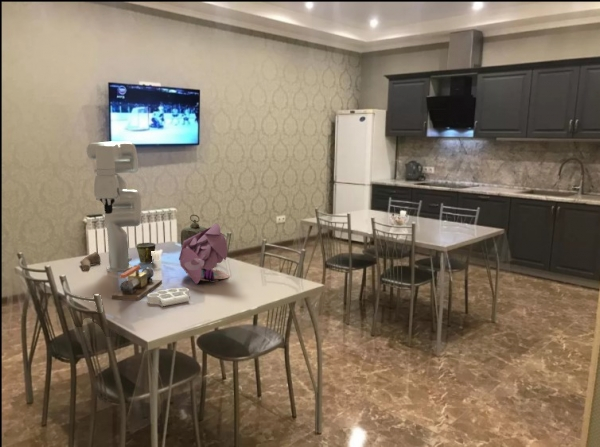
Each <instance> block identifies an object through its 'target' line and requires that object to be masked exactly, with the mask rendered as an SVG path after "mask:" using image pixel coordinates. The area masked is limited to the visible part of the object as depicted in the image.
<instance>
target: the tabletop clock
mask: <svg viewBox="0 0 600 447" xmlns="http://www.w3.org/2000/svg"><path fill="white" fill-rule="evenodd" d="M192 217H197V218H198V220H196V219H192ZM189 220H190V221H191V223H190V226H189V227H185V228H182V230H181V231H180V232H181V233H180V246H181V248H182V246H183V242H184V241H185V240H187V239H189V238H191V237H193V236H195V235H196V234H198V233H200V232H203V231H204V230H206V229H208V228H207V227H205V226H200V224H199V221H200V217H199V216H198V215H197V214H191V215H190V216H189Z"/></svg>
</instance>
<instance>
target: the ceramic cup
mask: <svg viewBox="0 0 600 447" xmlns="http://www.w3.org/2000/svg"><path fill="white" fill-rule="evenodd" d="M156 245H157V244H156V243H155V242H139V243H137V244H136V246H135V247H136V251H137V255H138V258H139V262H140V265H149V264H150V263H151V262H152V256H151V251H156ZM151 264H152V263H151Z"/></svg>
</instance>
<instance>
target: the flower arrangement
mask: <svg viewBox="0 0 600 447" xmlns="http://www.w3.org/2000/svg"><path fill="white" fill-rule="evenodd" d="M220 226H221V225H220V224H219V223H214V224H213V225H212V226H210V227H208V228H207V229H206V230H204V231H203V232H200V233H198V234H196V235H195V236H193V237H191V238H189V239H187V240H185V241H184V242H183V246H182V247H181V250H180V253H179V257H178V260H179V263H180V267H181V268H182V269H183V270H184V271H185V273H186V274H187V276H189V277H190V279H191V280H192V281H193V282H194V283H195V285H197V284H199V282H200V281H206V282H214V283H216V282H217V281H219V280H222V279H223V280H224V279H229V277H230V274H228V273H226V272H224V271H222V270H219V269H215V268H216V266H217V264H220V263H222V262H223V260H224V261H226V259H227V257H228V244H227V240H226V238H225V235H224V234H222V232H221V227H220Z"/></svg>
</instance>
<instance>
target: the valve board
mask: <svg viewBox="0 0 600 447" xmlns="http://www.w3.org/2000/svg"><path fill="white" fill-rule="evenodd" d="M162 281H163V280H162V279H152V282H151V283H147V284H146V285H144V286H143V287H141V288H139V287H134V288H133V289H136V290H137V292H136V293H135V294H122V291H121V289H119V290H118V291H116V292H115V293H113V294H111V299H112V300H113V299H115V300H127V301H128V300H130V301H131V300H132V301H140V300H141V299H143V298H144V297H145V296H147V295H148V294H150V293H152V291H154V290H155V289H156V288H157V287H159V286H160V285H162V284H163V283H162Z"/></svg>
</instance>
